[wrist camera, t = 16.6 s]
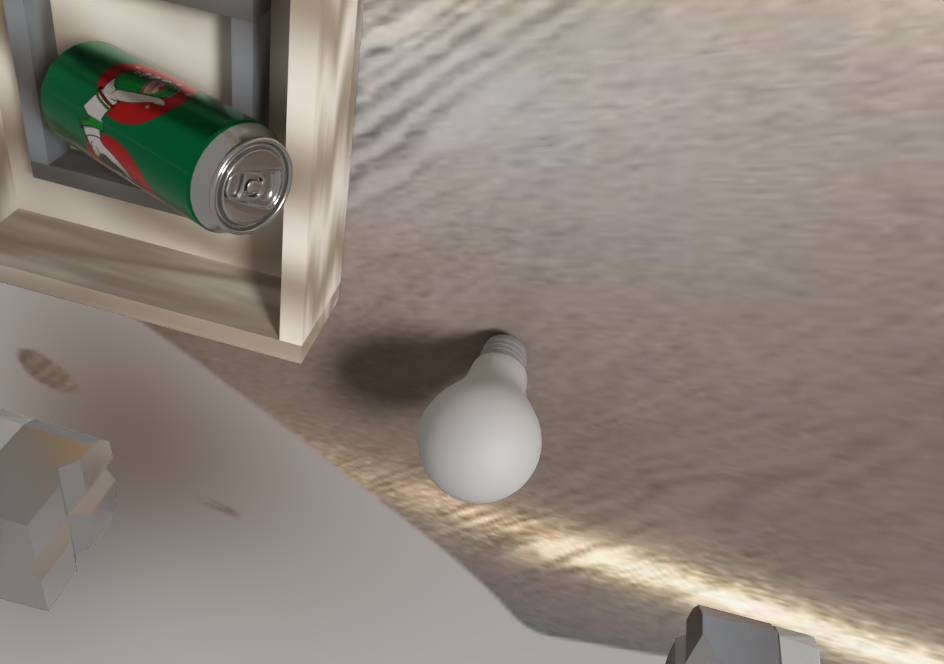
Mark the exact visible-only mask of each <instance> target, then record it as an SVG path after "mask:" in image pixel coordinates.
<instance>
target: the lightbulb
mask: <svg viewBox="0 0 944 664" xmlns="http://www.w3.org/2000/svg"><path fill="white" fill-rule="evenodd" d="M526 364H527V349H526V347H525V345H524V344H523V343H522V342H521V341H520V340H519V339H517V338H516V337H513V336H511V335H506V334H501V335H495V336H493V337H491V338H489V339H488V340H487V341H486V343H485V345H484V346H483V348H482V351H481V353H480V356H479V357H478V358H477V359H476V360H475V361H474V362H473V364H472V366H471V368H470V370H469V372H468V374H467V375H466V376H465V378H463V379H462V380H460V381H458V382H456V383H454V384H452V385H451V386H449V387H448V388H446V389H445V390H443V391H442V392H441V393H439V394H438V395H437V396H436V397H435V398H434V399H433V401H432V402H431V403H430V404H429V406H428V407H427V408H426V410H425V412H424V414H423V416H422V419H421V422H420V425H419V431H418V449H419V457H420V460H421V462H422V465H423V467H424V469H425V471H426V473H427V474H428V476H429V477H430V479H431V480H432V481H433V482H434V483H435V484H436V485H437V486H438V488H440V489H441V490H442V491H443V492H445V493H446V494H448V495H450V496H451V497H453V498H456V499H458V500H461V501H465V502H469V503H489V502H494V501H497V500H500V499H503V498H506V497H507V496H509V495H511V494H512V493H514V492H516V491H517V490H519V489H520V488H521V487H522V486H523V485H524V484H525V483H526V482H527V480H528V479H529V478H530V476H531V475H532V473H533V472H534V470H535V468H536V466H537V464H538V461H539V457H540V453H541V448H542V438H541V429H540V425H539V421H538V419H537V417H536V414H535V412H534V410H533V408H532V406H531V404H530V402H529V401H528V399H527V397H526V385H527V375H526V371H525V370H526Z"/></svg>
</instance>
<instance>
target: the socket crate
mask: <svg viewBox="0 0 944 664" xmlns="http://www.w3.org/2000/svg"><path fill="white" fill-rule="evenodd" d="M363 10H364V0H0V282H3V283H6V284H10V285H13V286H17V287H21V288H25V289H28V290H32V291H35V292H39V293H43V294H47V295H50V296H54V297H57V298H61V299H65V300H69V301H72V302H76V303H79V304H83V305H87V306H91V307H94V308H98V309H101V310H105V311H109V312H112V313H116V314H120V315H124V316H127V317H131V318H135V319H138V320H142V321H146V322H149V323H153V324H157V325H160V326H164V327H168V328H171V329H175V330H179V331H182V332H186V333H190V334H193V335H197V336H201V337H204V338H208V339H212V340H215V341H219V342H223V343H226V344H230V345H234V346H238V347H241V348H245V349H249V350H252V351H256V352H260V353H263V354H267V355H271V356H274V357H278V358H282V359H285V360H289V361H293V362H296V363H300V364H301V363H302V361H303V359H304V358H305V356H306V354H307V352H308V351H309V349H310V347H311V346H312V344H313V342H314V341H315V339H316V337H317V335H318V334H319V332H320V330H321V329H322V327H323V325H324V323H325V322H326V320H327V318H328V317H329V315H330V313H331V312H332V310H333V308H334V306H335V305H336V303H337V301H338V300H339V292H340V280H341V268H342V256H343V245H344V233H345V221H346V209H347V198H348V186H349V174H350V162H351V151H352V139H353V127H354V115H355V104H356V92H357V80H358V68H359V57H360V45H361V33H362V21H363ZM88 41H101V42H106V43H109V44H112V45H114V46H116V47H118V48H120V49H122V50H124V51H126V52H127V53H129V54H131V55H133V56H135V57H137V58H139V59H141V60H143V61H145V62H147V63H148V64H150V65H152V66H154V67H156V68H158V69H160V70H162V71H164V72H166V73H168V74H169V75H171V76H173V77H175V78H177V79H179V80H181V81H183V82H185V83H187V84H189V85H190V86H192V87H194V88H196V89H198V90H200V91H202V92H204V93H206V94H208V95H209V96H211V97H213V98H215V99H217V100H219V101H221V102H223V103H225V104H227V105H229V106H230V107H232V108H234V109H236V110H238V111H240V112H242V113H244V114H246V115H248V116H250V117H251V118H253V119H255V120H257V121H259V122H261V123H263V124H265V125H267V126H268V127H269V128H270V129H271V130H272V131H273V132H274V133H275V135H276V136H277V138H278V140H279V142H280V143H281V144H282V145H283V146H284V147H285V149H286V150H287V151H288V153H289V155H290V158H291V161H292V167H293V179H292V185H291V189H290V192H289V195H288V198H287V200H286V202H285V204H284V205H283V207H282V209H281V210H280V212H279V213H278V214H277V215H276V217H275V218H274V219H273V220H272V221H271V222H270V223H269V224H267V225H266V226H265V227H263V228H262V229H260V230H258V231H256V232H254V233H251V234H247V235H234V234H230V233H214V232H211V231H208V230H206V229H204V228H203V227H201V226H199V225H198V224H196V223H195V222H193V221H191V220H190V219H188V218H187V217H185V216H183V215H182V214H180V213H179V212H177V211H175V210H174V209H172V208H171V207H169V206H167V205H166V204H164V203H163V202H161V201H160V200H158V199H156V198H155V197H153V196H152V195H150V194H148V193H147V192H145V191H144V190H142V189H140V188H139V187H137V186H136V185H134V184H132V183H131V182H129V181H128V180H126V179H125V178H123V177H121V176H120V175H118V174H117V173H115V172H113V171H112V170H110V169H109V168H107V167H105V166H104V165H102V164H101V163H99V162H97V161H96V160H94V159H93V158H91V157H89V156H88V155H86V154H85V153H83V152H82V151H80V150H78V149H77V148H75V147H74V146H72V145H70V144H69V143H67V142H66V141H64V140H62V139H61V138H60V137H58V136H57V135H56V134H55V133H54V132H53V131H52V129H51V128H50V127H49V125H48V124H47V122H46V120H45V117H44V114H43V111H42V106H41V91H42V85H43V81H44V78H45V76H46V74H47V71H48V69H49V68H50V66H51V65H52V63H53V62H54V61H55V60H56V59H57V57H58V56H59V55H61V54H62V53H63V52H64V51H66V50H67V49H69V48H71V47H72V46H74V45H77V44H79V43H83V42H88Z"/></svg>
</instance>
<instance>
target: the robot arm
mask: <svg viewBox="0 0 944 664" xmlns="http://www.w3.org/2000/svg"><path fill="white" fill-rule="evenodd" d="M111 460H112V453H111V448H110V443H109V441H105V440H102V439H99V438H96V437H92V436H89V435H86V434H83V433H79V432H76V431H72V430H70V429H66V428H63V427H60V426H56V425H53V424H50V423H46V422H43V421H40V420H37V419H34V418H30V417H27V416H23V415H20V414H16V413H13V412H9V411H6V410H2V409H1V410H0V599H4V600H7V601H11V602H15V603H19V604H23V605H26V606H30V607H34V608H38V609H41V610H45V611H49V610H50V609H51V607H52V606H53V604H54V603H55V601H56V600H57V599H58V597H59V596H60V595H61V593H62V592H63V590H64V589H65V587H66V586H67V585H68V583H69V582H70V580H71V579H72V577H73V576H74V575H75V573H76V572H77V566H76V556H75V555H76V554H78V553H80V552H82V551H84V550H86V549H88V548H90V547H92V546H94V545H96V543H97V542H98V540H99V539H100V537H101V536H102V534H103V533H104V531H105V530H106V528H107V526H108V524H109V521H110V519H111V516H112V514H113V512H114V509H115V505H116V497H117V487H116V480H115V479H114V478H113V476H112V475H111V474H110V473H109V472H108V471H107V469H106V466H107V465H108V464H109V462H110V461H111ZM666 664H820V657H819V649H818V645H817V643H816V641H815V639H814V637H812V636H809V635H806V634H802V633H798V632H795V631H791V630H787V629H784V628H780V627H776V626H772V625H771V624H769V623H765V622H762V621H758V620H754V619H750V618H746V617H743V616H739V615H735V614H731V613H728V612H724V611H720V610H716V609H712V608H709V607H705V606H701V605H697V606H696V607H694V608H693V609H692V611H691V613H690V614H689V616H688V618H687V619H686V635H684V636H681V637H679V638H676V639H675V641H674V643H673V645H672V647H671V649H670V651H669V653H668V657H667V660H666Z"/></svg>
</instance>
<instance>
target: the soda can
mask: <svg viewBox="0 0 944 664" xmlns="http://www.w3.org/2000/svg"><path fill="white" fill-rule="evenodd" d="M41 106H42V111H43V114H44V117H45V120H46V122H47V124H48V125H49V127H50V128H51V129H52V131H53V132H54V133H55V134H56V135H57V136H58V137H60V138H61V139H62V140H64V141H66V142H67V143H69V144H70V145H72V146H74V147H75V148H77V149H78V150H80V151H82V152H83V153H85V154H86V155H88V156H89V157H91V158H93V159H94V160H96V161H97V162H99V163H101V164H102V165H104V166H105V167H107V168H109V169H110V170H112V171H113V172H115V173H117V174H118V175H120V176H121V177H123V178H125V179H126V180H128V181H129V182H131V183H132V184H134V185H136V186H137V187H139V188H140V189H142V190H144V191H145V192H147V193H148V194H150V195H152V196H153V197H155V198H156V199H158V200H160V201H161V202H163V203H164V204H166V205H167V206H169V207H171V208H172V209H174V210H175V211H177V212H179V213H180V214H182V215H183V216H185V217H187V218H188V219H190V220H191V221H193V222H195V223H196V224H198V225H199V226H201V227H203V228H204V229H206V230H208V231H211V232H214V233H230V234H234V235H247V234H251V233H254V232H256V231H258V230H260V229H262V228H263V227H265V226H266V225H267V224H269V223H270V222H271V221H272V220H273V219H274V218H275V217H276V215H277V214H278V213H279V212H280V210H281V209H282V207H283V205H284V204H285V202H286V200H287V198H288V195H289V192H290V189H291V185H292V179H293V167H292V161H291V158H290V155H289V153H288V151H287V150H286V149H285V147H284V146H283V145H282V144H281V143H280V142H279V140H278V138H277V136H276V135H275V133H274V132H273V131H272V130H271V129H270V128H269V127H268V126H267V125H265V124H263V123H261V122H259V121H257V120H255V119H253V118H251V117H250V116H248V115H246V114H244V113H242V112H240V111H238V110H236V109H234V108H232V107H230V106H229V105H227V104H225V103H223V102H221V101H219V100H217V99H215V98H213V97H211V96H209V95H208V94H206V93H204V92H202V91H200V90H198V89H196V88H194V87H192V86H190V85H189V84H187V83H185V82H183V81H181V80H179V79H177V78H175V77H173V76H171V75H169V74H168V73H166V72H164V71H162V70H160V69H158V68H156V67H154V66H152V65H150V64H148V63H147V62H145V61H143V60H141V59H139V58H137V57H135V56H133V55H131V54H129V53H127V52H126V51H124V50H122V49H120V48H118V47H116V46H114V45H112V44H109V43H106V42H101V41H88V42H83V43H79V44H77V45H74V46H72V47H71V48H69V49H67V50H66V51H64V52H63V53H62V54H61V55H59V56H58V57H57V59H56V60H55V61H54V62H53V63H52V65H51V66H50V68H49V69H48V71H47V74H46V76H45V78H44V81H43V85H42V91H41Z"/></svg>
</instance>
